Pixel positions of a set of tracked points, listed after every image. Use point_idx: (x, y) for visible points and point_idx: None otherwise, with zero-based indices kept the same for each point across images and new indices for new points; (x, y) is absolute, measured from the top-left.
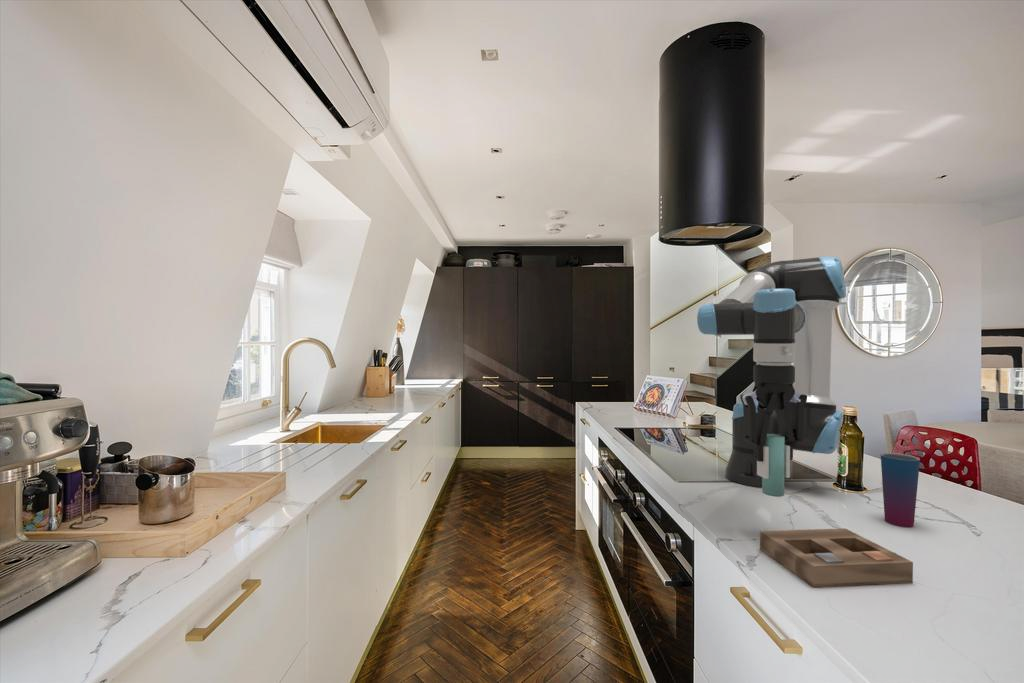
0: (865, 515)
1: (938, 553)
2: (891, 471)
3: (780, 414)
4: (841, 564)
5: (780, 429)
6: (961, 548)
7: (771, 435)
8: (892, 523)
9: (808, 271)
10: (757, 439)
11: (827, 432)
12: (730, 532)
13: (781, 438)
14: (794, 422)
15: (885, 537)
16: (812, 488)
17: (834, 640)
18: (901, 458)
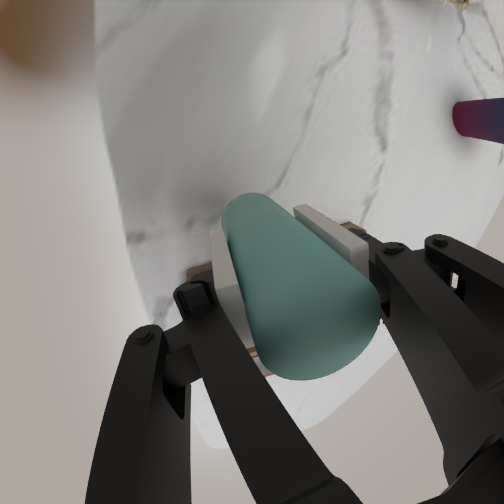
0: (440, 85)
1: (444, 224)
2: None
3: (453, 421)
4: (271, 374)
5: (407, 301)
6: (470, 203)
7: (318, 320)
8: (455, 124)
9: None
10: (198, 377)
11: None
12: (149, 198)
13: (336, 369)
14: (490, 325)
15: (423, 175)
16: None
17: (205, 432)
18: None
